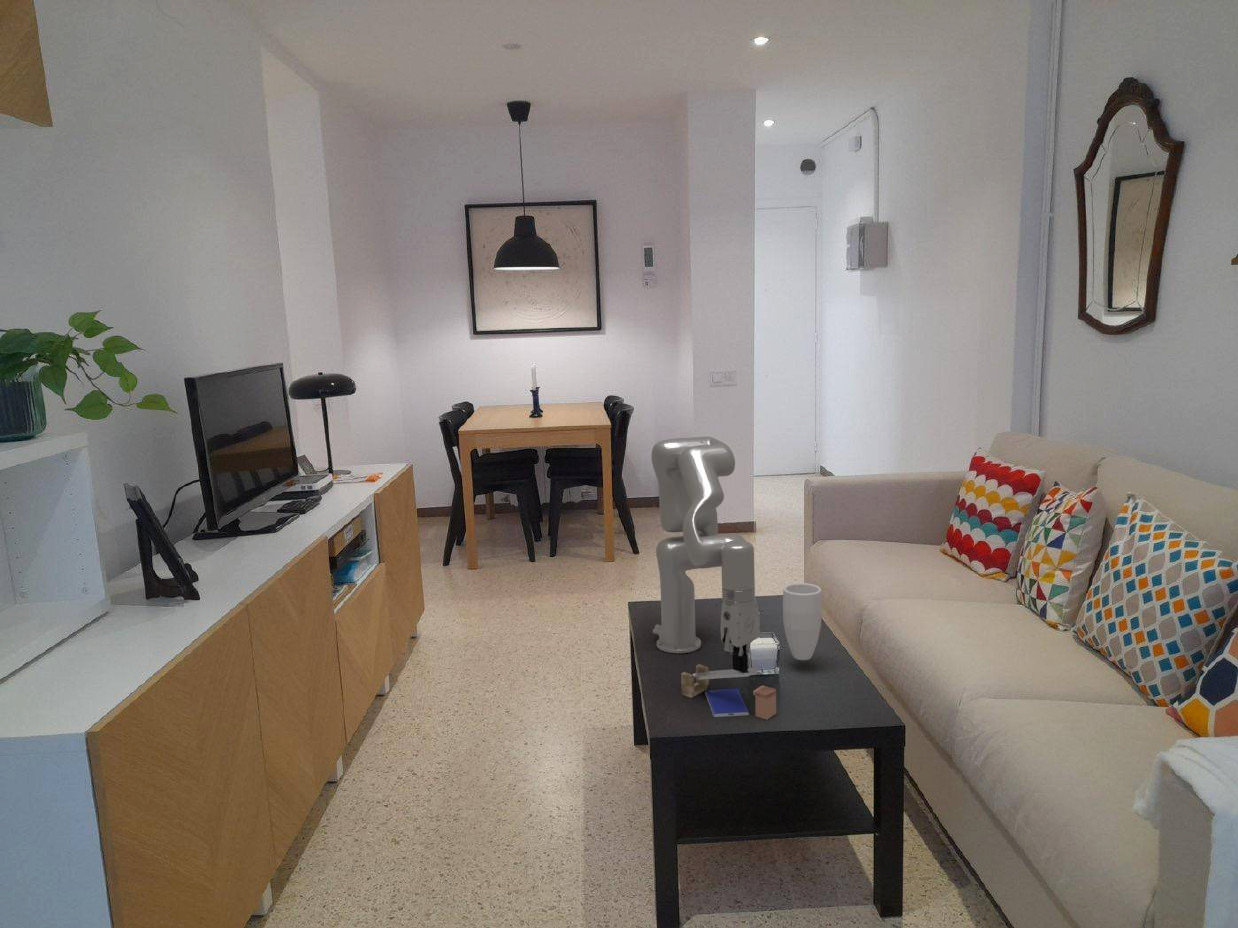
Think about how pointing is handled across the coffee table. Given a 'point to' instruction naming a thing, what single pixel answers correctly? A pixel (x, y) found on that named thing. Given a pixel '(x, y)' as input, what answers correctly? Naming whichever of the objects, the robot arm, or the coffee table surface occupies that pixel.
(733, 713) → the hard drive
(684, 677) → the pivot bracket
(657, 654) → the coffee table surface
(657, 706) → the coffee table surface
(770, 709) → the block
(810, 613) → the cup
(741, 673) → the grey long flat bar
